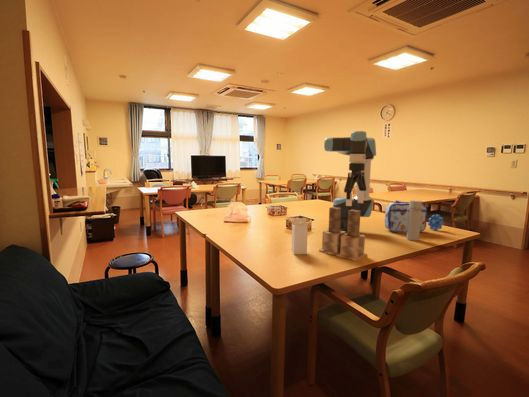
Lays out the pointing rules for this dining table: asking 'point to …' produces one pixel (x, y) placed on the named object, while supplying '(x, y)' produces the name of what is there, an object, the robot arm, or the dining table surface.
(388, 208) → the lunch box
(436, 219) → the blue bumpy wheel
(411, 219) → the tall beige block
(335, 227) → the left post
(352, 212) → the right post
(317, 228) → the dining table surface
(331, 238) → the stand
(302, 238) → the milk carton
